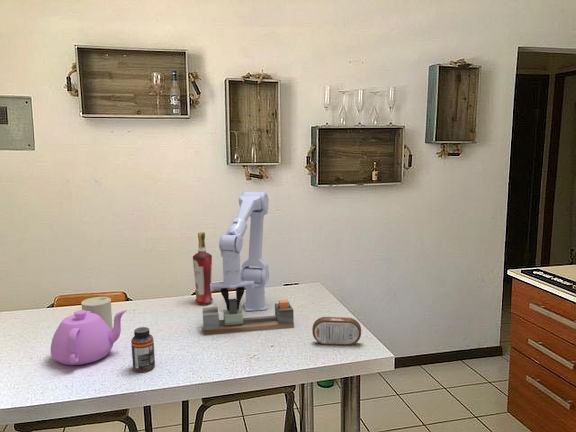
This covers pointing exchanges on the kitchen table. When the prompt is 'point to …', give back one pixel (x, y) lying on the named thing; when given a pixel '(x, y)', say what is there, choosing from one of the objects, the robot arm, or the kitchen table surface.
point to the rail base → (247, 321)
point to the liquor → (202, 272)
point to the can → (99, 308)
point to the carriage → (233, 314)
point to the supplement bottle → (142, 350)
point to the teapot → (84, 338)
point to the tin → (336, 331)
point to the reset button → (283, 304)
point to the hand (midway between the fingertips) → (232, 309)
